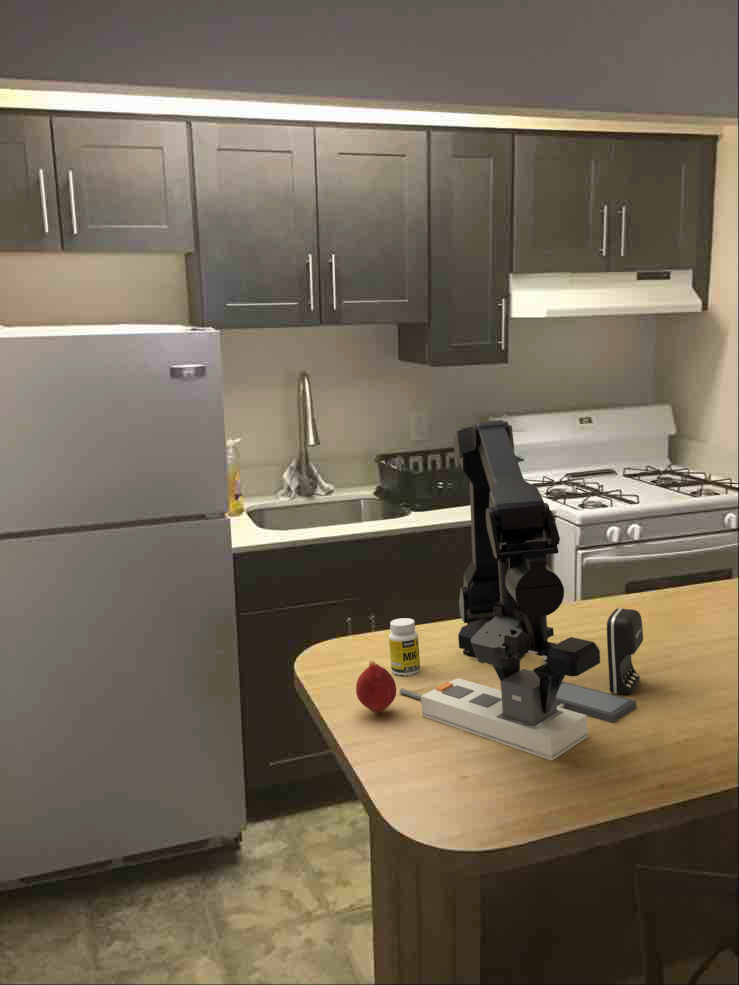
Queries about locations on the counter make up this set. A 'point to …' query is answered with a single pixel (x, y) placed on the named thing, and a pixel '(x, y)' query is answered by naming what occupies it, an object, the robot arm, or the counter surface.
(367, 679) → the onion
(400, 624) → the supplement bottle
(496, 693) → the power strip
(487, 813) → the counter surface
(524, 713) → the charger cube
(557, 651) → the robot arm
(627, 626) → the battery charger
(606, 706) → the phone
